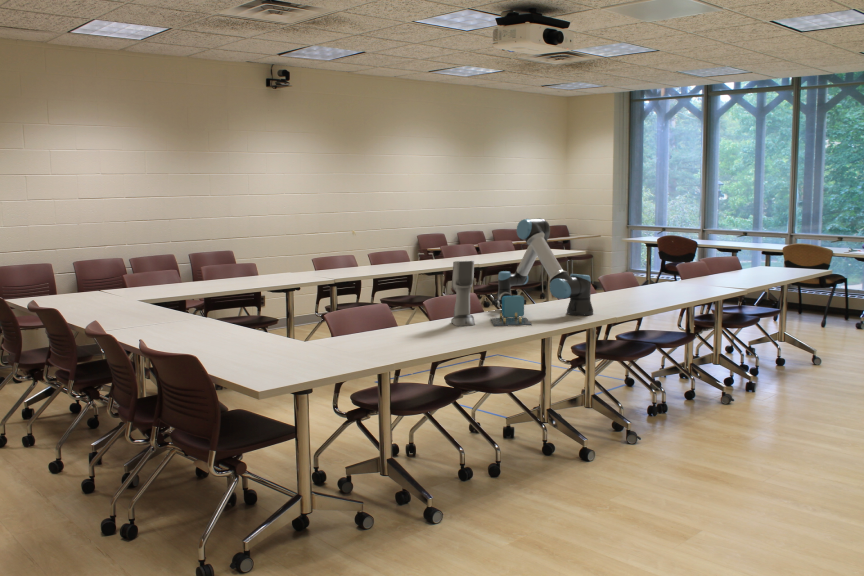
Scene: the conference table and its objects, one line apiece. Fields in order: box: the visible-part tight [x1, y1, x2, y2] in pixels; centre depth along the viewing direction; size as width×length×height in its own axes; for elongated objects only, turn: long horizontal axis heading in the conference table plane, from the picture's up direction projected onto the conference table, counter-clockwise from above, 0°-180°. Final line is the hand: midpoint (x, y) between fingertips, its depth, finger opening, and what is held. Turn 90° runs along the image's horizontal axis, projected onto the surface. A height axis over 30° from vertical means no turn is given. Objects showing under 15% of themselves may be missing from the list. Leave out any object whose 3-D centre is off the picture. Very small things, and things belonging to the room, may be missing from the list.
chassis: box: [489, 312, 532, 327], centre depth 398 cm, size 20×19×4 cm
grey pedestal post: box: [450, 260, 476, 327], centre depth 394 cm, size 12×13×35 cm
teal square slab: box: [501, 294, 525, 318], centre depth 417 cm, size 12×4×12 cm, turn 106°
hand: (510, 304), depth 422 cm, fingers open, 13 cm apart
